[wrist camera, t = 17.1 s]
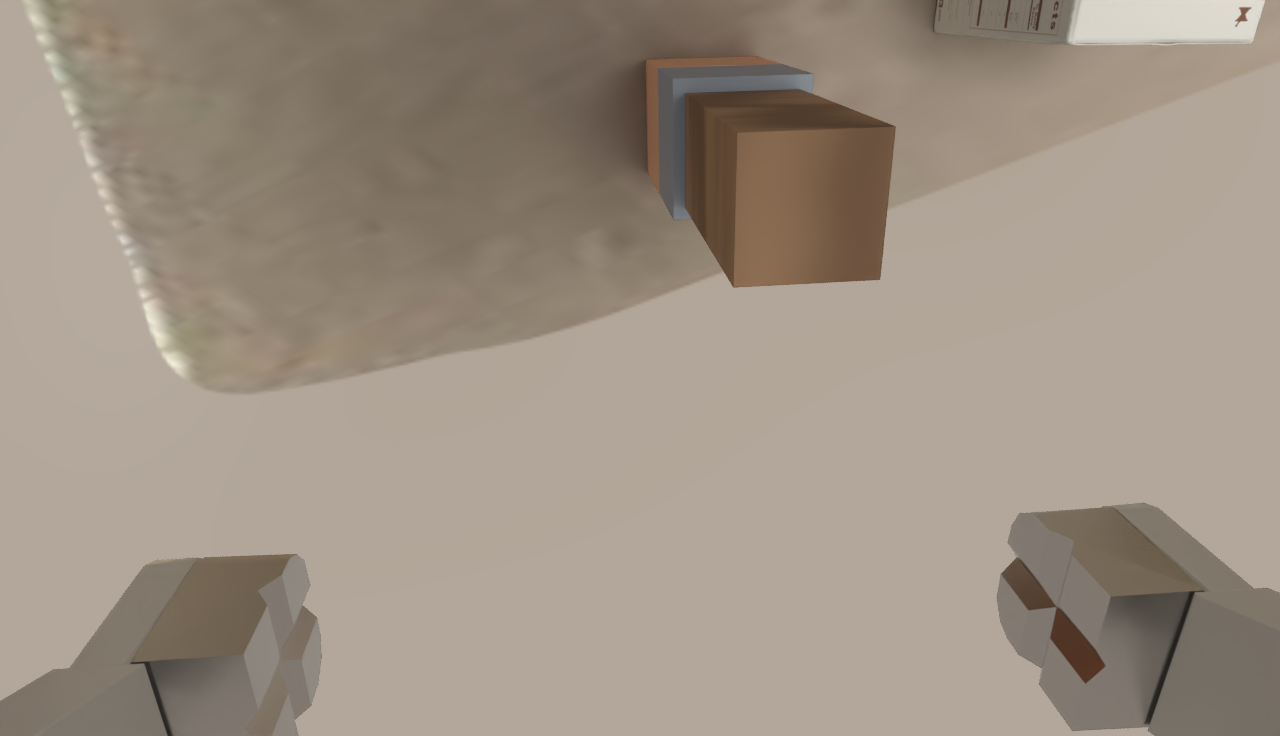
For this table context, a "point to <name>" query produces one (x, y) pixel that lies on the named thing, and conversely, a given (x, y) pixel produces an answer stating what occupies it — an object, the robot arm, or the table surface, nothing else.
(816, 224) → the walnut block
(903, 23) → the table surface
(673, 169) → the slate block
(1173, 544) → the robot arm
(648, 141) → the terracotta block
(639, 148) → the table surface
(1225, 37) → the supplement box
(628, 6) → the table surface
